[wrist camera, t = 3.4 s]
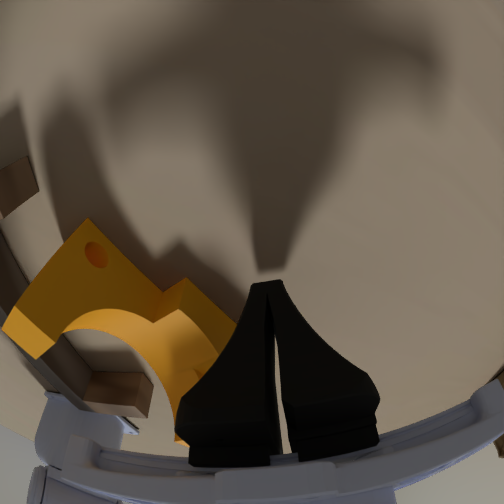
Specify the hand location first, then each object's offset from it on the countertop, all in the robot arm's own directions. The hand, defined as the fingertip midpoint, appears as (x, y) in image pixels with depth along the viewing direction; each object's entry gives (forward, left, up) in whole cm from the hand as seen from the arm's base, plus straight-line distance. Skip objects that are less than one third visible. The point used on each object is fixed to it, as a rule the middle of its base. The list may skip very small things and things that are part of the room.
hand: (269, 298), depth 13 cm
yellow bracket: (-6, 0, -2) cm, 6 cm away
